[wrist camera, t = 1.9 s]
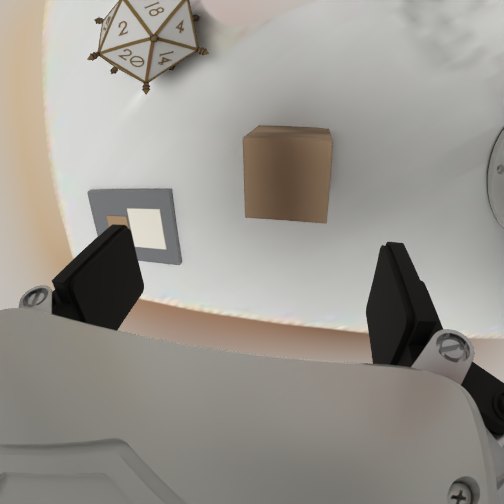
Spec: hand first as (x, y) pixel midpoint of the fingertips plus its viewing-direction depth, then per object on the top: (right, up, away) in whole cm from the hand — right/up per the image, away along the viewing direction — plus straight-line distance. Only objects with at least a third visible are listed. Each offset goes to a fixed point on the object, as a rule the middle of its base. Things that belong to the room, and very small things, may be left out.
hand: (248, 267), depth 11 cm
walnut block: (+3, +8, +13) cm, 16 cm away
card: (-12, +3, +19) cm, 23 cm away
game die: (-7, +18, +9) cm, 22 cm away
